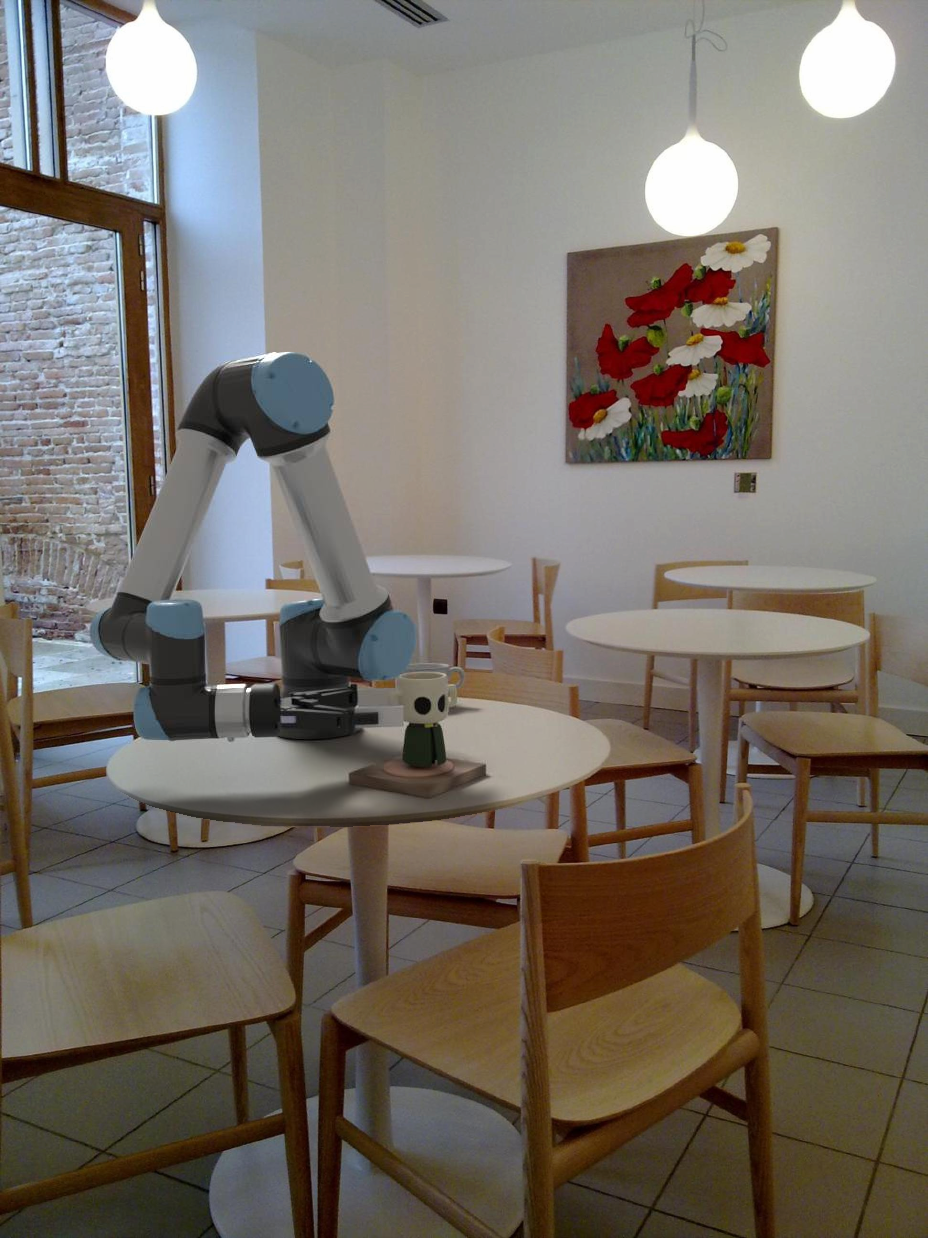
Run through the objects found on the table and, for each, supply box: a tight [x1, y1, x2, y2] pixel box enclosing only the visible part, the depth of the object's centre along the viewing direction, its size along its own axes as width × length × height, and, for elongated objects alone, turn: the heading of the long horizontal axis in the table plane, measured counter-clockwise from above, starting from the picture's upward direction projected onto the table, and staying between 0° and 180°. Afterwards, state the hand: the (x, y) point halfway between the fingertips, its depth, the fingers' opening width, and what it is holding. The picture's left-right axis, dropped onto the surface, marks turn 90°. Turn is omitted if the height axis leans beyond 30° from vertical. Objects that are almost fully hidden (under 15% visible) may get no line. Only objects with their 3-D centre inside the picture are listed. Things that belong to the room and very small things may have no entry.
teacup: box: [394, 662, 467, 697], centre depth 196 cm, size 14×11×8 cm
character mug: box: [388, 672, 458, 767], centre depth 143 cm, size 11×7×13 cm, turn 120°
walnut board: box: [348, 753, 487, 799], centre depth 143 cm, size 14×14×2 cm
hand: (403, 706), depth 142 cm, fingers open, 13 cm apart
